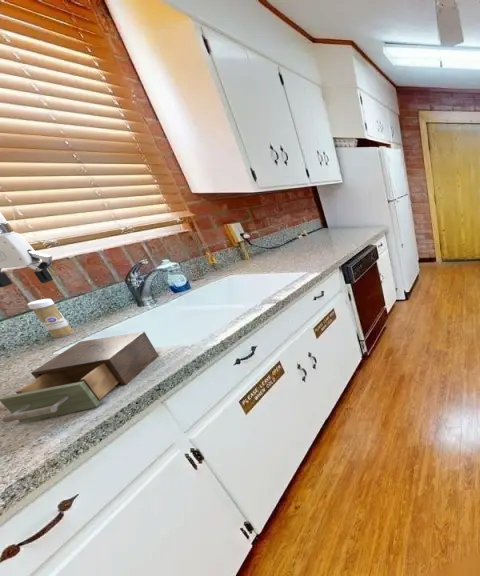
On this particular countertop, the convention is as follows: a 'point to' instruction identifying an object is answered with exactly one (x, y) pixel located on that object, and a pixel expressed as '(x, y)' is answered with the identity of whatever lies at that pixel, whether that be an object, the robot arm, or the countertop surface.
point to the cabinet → (107, 356)
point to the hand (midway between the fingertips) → (27, 283)
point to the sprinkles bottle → (51, 317)
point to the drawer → (60, 393)
